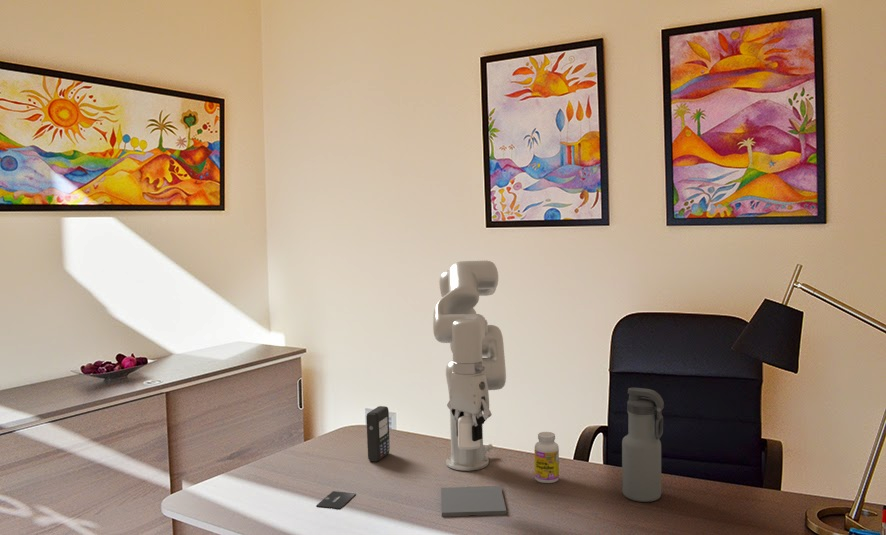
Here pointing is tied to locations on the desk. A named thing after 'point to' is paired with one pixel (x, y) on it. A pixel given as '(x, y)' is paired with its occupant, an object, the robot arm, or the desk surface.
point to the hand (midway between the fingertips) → (469, 436)
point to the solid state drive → (336, 500)
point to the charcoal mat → (472, 501)
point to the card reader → (378, 433)
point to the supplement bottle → (546, 458)
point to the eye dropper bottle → (466, 433)
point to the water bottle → (642, 446)
